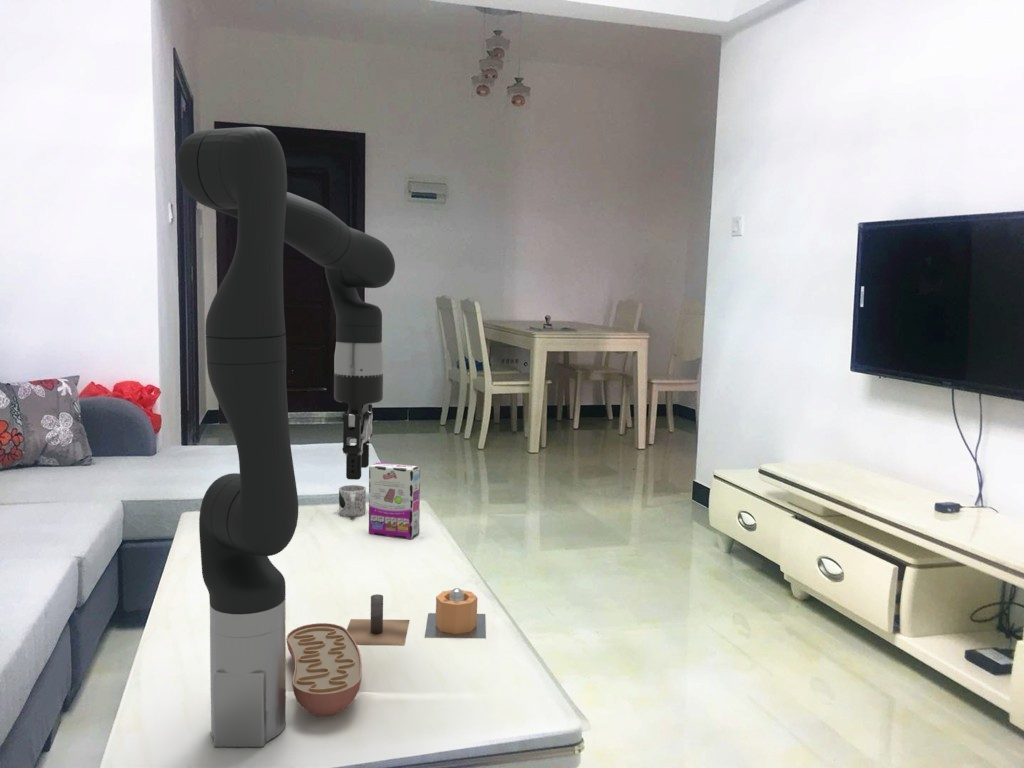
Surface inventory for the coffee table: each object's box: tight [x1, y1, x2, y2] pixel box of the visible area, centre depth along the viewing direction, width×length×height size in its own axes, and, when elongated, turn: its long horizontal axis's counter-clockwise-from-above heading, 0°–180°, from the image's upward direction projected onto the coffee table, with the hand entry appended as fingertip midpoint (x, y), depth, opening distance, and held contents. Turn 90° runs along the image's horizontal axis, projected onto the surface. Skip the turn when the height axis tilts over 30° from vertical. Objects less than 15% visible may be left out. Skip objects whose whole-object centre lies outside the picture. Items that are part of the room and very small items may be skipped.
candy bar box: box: [368, 462, 421, 540], centre depth 189 cm, size 11×5×16 cm, turn 73°
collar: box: [435, 589, 478, 634], centre depth 137 cm, size 6×6×5 cm
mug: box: [338, 484, 367, 518], centre depth 204 cm, size 10×7×7 cm, turn 12°
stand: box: [346, 593, 411, 647], centre depth 133 cm, size 10×10×7 cm
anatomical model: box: [285, 622, 363, 717], centre depth 117 cm, size 23×10×5 cm, turn 18°
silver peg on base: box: [424, 587, 487, 639], centre depth 137 cm, size 10×10×7 cm
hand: (357, 472), depth 128 cm, fingers open, 8 cm apart
